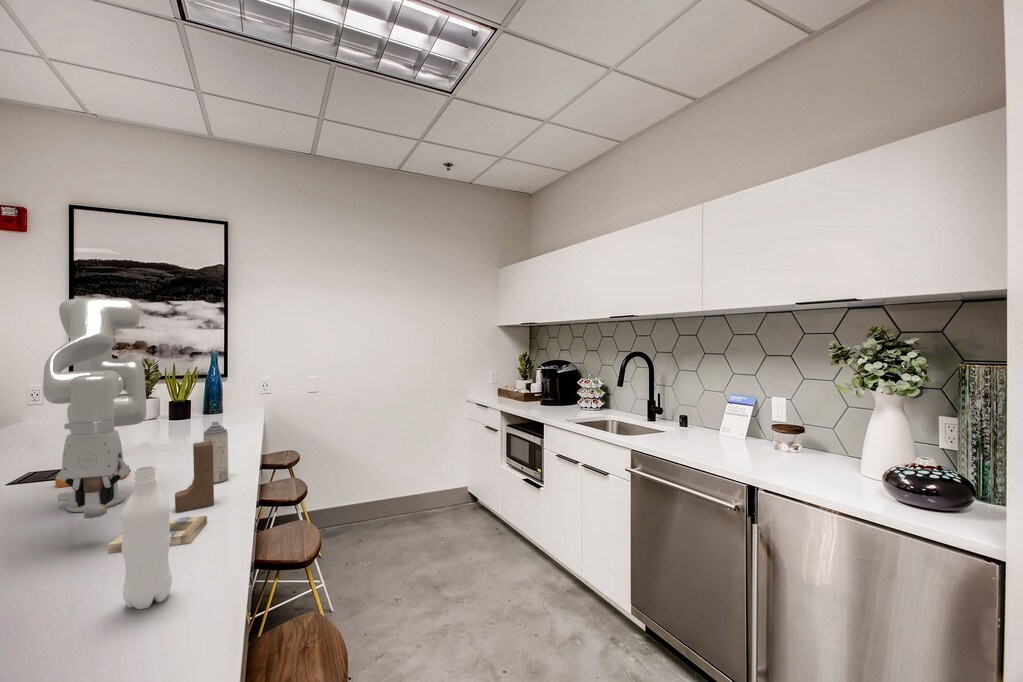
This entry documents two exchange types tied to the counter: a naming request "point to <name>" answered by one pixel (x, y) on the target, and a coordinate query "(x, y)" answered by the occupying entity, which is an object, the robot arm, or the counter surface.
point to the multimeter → (64, 484)
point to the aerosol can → (218, 451)
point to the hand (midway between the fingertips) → (95, 502)
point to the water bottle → (146, 542)
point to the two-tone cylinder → (93, 497)
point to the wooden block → (198, 480)
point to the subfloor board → (182, 537)
